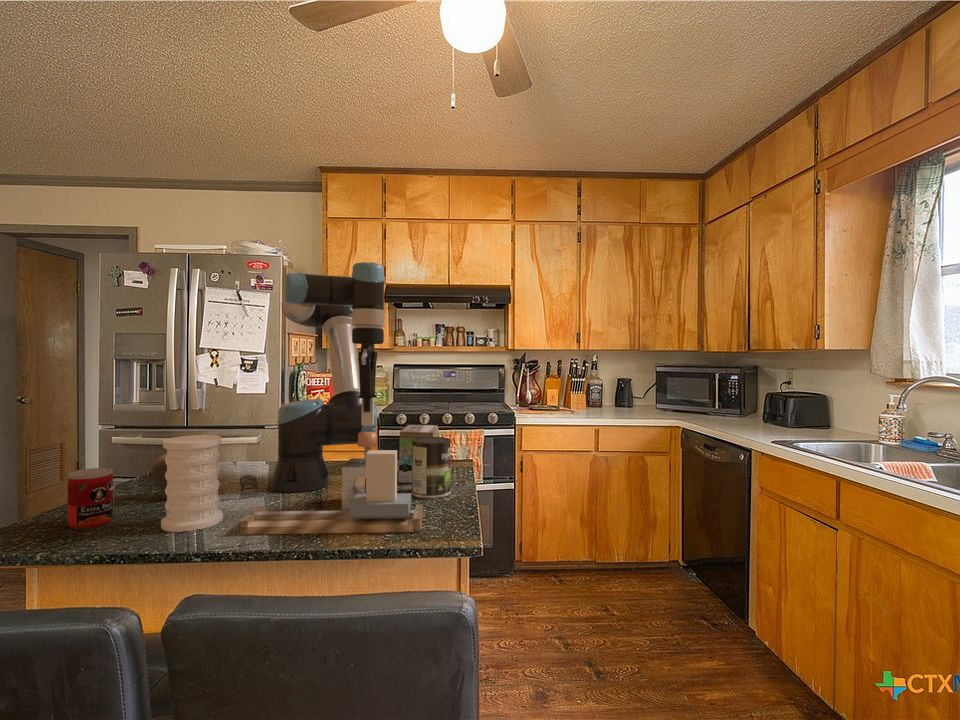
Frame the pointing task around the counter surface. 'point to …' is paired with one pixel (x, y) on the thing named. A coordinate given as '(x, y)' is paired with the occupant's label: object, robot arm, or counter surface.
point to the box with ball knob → (353, 481)
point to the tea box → (406, 447)
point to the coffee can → (431, 467)
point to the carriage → (381, 489)
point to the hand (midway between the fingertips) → (367, 424)
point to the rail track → (325, 522)
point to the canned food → (90, 498)
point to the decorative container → (192, 483)
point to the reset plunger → (367, 441)
